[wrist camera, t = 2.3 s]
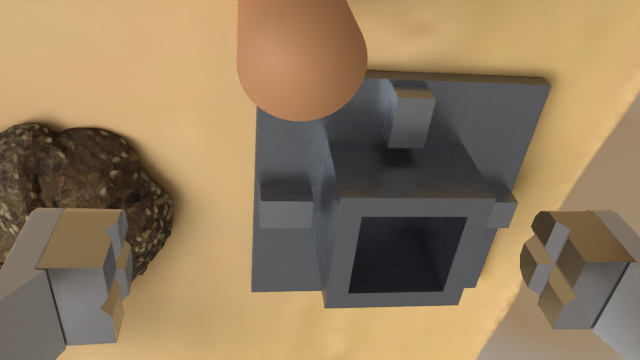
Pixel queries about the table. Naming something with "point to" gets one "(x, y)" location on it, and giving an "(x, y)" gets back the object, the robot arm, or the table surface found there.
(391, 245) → the hollow box on baseplate
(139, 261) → the bread roll
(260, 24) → the rounded pin
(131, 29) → the table surface
